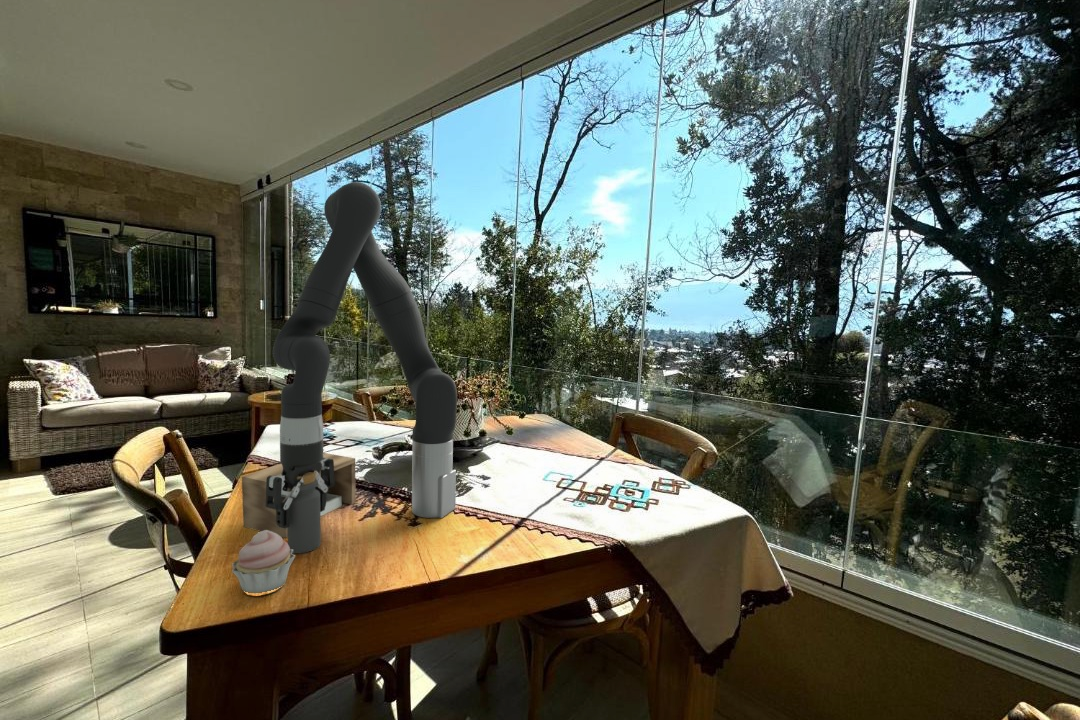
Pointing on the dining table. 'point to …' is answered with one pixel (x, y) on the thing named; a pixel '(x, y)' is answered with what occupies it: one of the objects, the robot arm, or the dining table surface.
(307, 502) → the bottle
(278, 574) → the cupcake
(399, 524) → the dining table surface
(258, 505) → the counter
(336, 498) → the shelved tray
